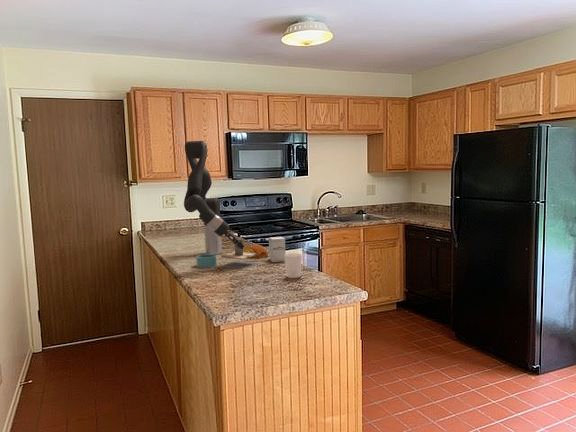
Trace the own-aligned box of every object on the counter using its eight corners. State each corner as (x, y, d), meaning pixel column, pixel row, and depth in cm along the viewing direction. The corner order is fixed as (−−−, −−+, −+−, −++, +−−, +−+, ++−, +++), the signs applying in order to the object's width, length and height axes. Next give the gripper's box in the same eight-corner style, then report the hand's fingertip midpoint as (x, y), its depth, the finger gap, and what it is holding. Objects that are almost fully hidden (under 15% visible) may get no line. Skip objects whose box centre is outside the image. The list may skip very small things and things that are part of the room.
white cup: (292, 273, 210) (291, 252, 209) (305, 275, 205) (305, 254, 204) (281, 276, 204) (280, 255, 203) (295, 279, 199) (294, 257, 198)
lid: (236, 252, 239) (235, 236, 238) (256, 254, 233) (255, 238, 232) (221, 257, 228) (220, 240, 227) (241, 259, 221) (241, 242, 220)
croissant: (237, 261, 255) (235, 247, 253) (259, 253, 264) (257, 240, 263) (252, 264, 243) (249, 249, 242) (274, 256, 253) (272, 242, 252)
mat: (236, 261, 241) (236, 260, 241) (261, 264, 233) (261, 263, 233) (217, 267, 228) (217, 266, 227) (243, 270, 220) (243, 269, 219)
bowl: (205, 263, 238) (205, 253, 237) (220, 265, 233) (220, 254, 232) (192, 267, 229) (192, 257, 229) (208, 269, 224) (207, 258, 224)
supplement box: (272, 263, 235) (271, 239, 234) (269, 260, 243) (268, 237, 241) (285, 261, 237) (285, 238, 236) (282, 259, 244) (281, 236, 243)
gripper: (224, 221, 219) (249, 244, 224) (221, 218, 233) (245, 239, 237) (214, 232, 219) (239, 255, 223) (211, 228, 232) (235, 250, 237)
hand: (242, 247), depth 230 cm, fingers closed on lid, 3 cm apart
